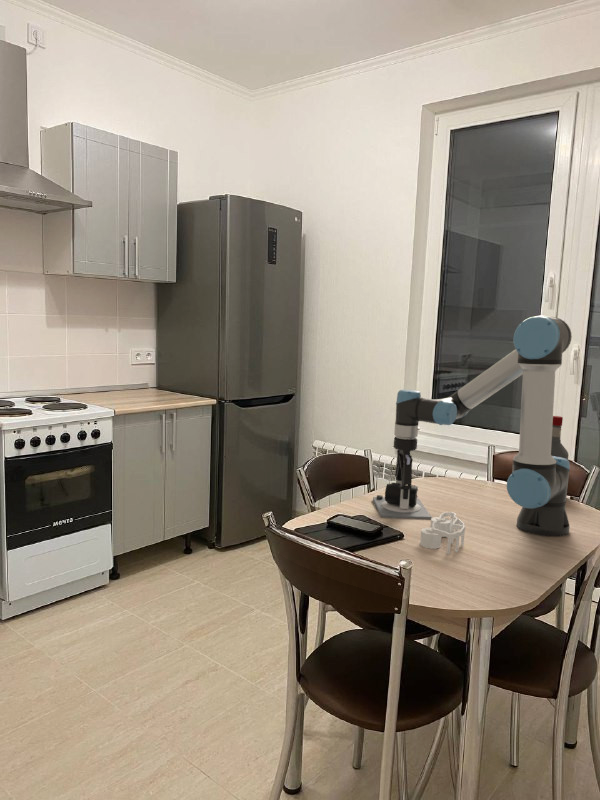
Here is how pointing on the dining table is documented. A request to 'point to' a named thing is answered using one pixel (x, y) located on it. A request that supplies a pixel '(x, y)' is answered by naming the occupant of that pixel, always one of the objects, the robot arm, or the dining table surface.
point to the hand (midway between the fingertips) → (401, 503)
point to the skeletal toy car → (443, 532)
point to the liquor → (557, 439)
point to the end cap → (399, 494)
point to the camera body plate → (400, 510)
